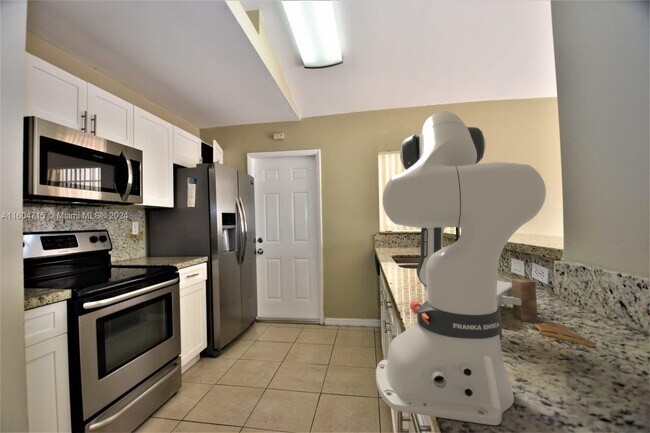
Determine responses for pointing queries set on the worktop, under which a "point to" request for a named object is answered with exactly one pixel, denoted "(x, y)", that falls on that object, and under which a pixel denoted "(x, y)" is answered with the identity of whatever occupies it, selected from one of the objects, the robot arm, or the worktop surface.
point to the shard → (562, 333)
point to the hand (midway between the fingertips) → (525, 298)
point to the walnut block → (525, 299)
